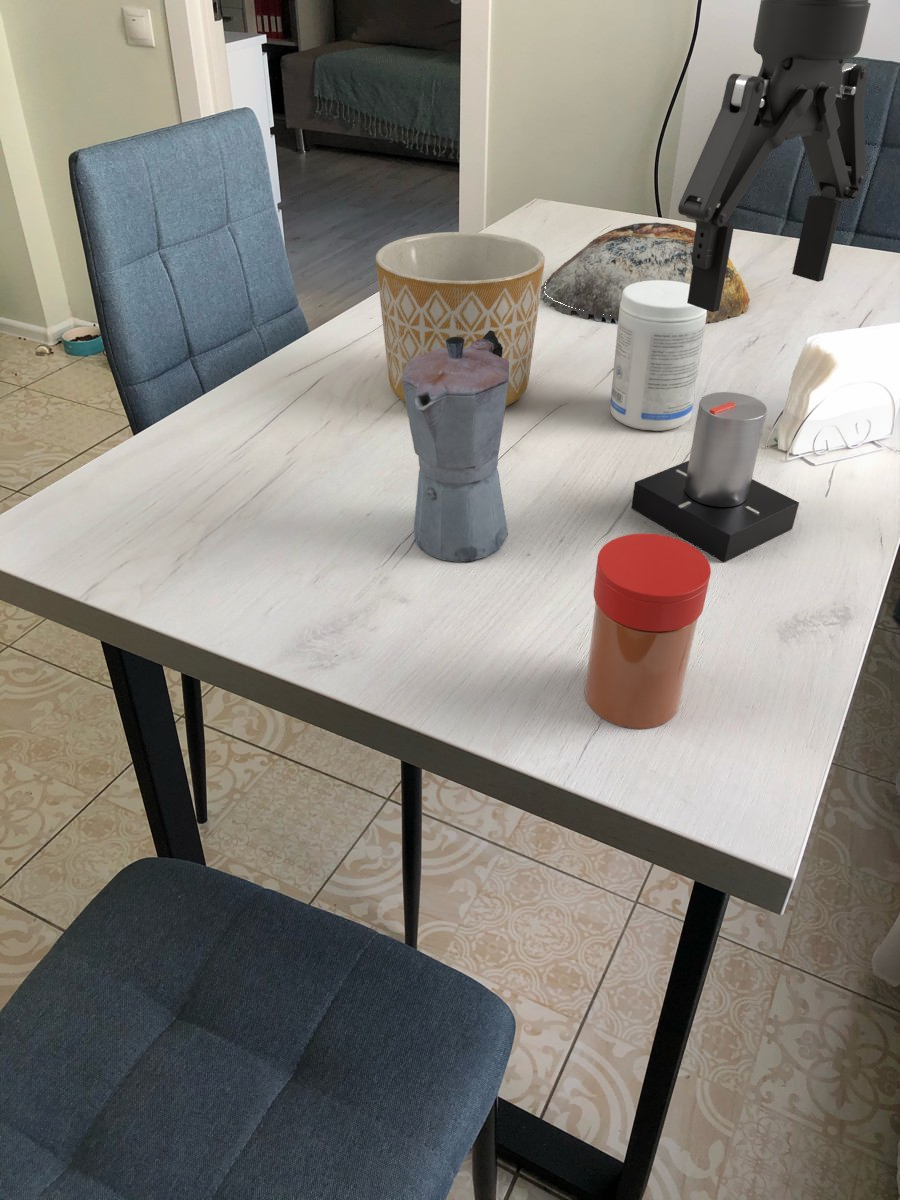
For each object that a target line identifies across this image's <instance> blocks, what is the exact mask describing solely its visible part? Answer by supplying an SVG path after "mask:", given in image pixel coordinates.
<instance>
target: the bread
mask: <svg viewBox="0 0 900 1200" xmlns="http://www.w3.org/2000/svg"><path fill="white" fill-rule="evenodd" d="M695 232H696V230H693V229H691V228H688V227H684V226H681V225H678V224H674V223H673V224H672V223H667V222H666V223H665V222H663V223H662V222H657V221H656V222H639V223H634V224H629V225H625V226H620V227H618V228H617V227H616V228H613V229H612V230H609V231H607V232H605V233H603V234H601V235H599V236H596V237H595V238H594V239H592V241H590V242H589V243H588V244H587V245H586V246H584V247H583V248H581V250H579V251H578V252H576V253H575V255H573V256H572V257H571V258H569V259H568V260H567V261H565V262H564V263H563V264H561V265H560V267H559V268H557V269H556V270H555V271H554V272H552V273H551V275H550V276H549V277H548V278H547V279H546V280H545V281H544V283H543V284H542V285H541V292H540V299H539V300H541V299H543V298H544V299H543V301H542V302H543V303H546V304H547V305H548V306H550V305H552V304H554V305H555V307H554V310H556V312H559V313H561V314H564V315H568V316H571V315H572V311H573V312H575V313H576V314H577V315H578V316H579V318H581V319H586V320H587V319H588V318H589V315H591V316H593V319H594V321H596V322H602V319H603V318H604V319H605V323H608V324H611V323H612V319H613V320H614V322H615V324H616V325H618V319H619V309H620V302H621V300H622V293H623V290H624V288H626V287H627V286H629V285H631V284H633V283H637V282H642V281H651V280H666V281H677V282H682V283H687V284H690V282H691V275H692V269H693V265H692V261H691V257H692V252H693V246H694V245H693V244H694V238H695ZM546 281H547V282H546ZM545 283H546V285H545ZM545 286H546V289H545V288H544V287H545ZM544 291H545V293H546V294H547V295H548V296H549V297H551V298H553V300H555V301H558V302H561V303H563V304H565V305H567V306H565V305H563V304H560V303H558V302H555V301H553V300H552V299H551V298H549V297H547V295H545V293H544ZM546 300H547V301H546ZM749 303H750V297H749V293H748V290H747V289H746V286H745V283H744V281H743V279H742V277H741V276H740V274H739V271H738V270H737V269H736V266H735V265H734V263H733V262H732V261H731V259H730V258H729V257H728V263H727V268H726V274H725V280H724V285H723V291H722V297H721V302H720V308H719V311H715V312H711V311H708V310H707V316H706V323H705V325H706V324H707V323H710V324H712V323H718V322H721V321H725V320H728V318H729V319H732V318H735V317H739V316H741V315H742V314H744V313H747V312H748V309H749V307H750V306H749ZM568 306H570V307H568ZM571 307H573V308H571ZM575 308H576V309H575ZM579 309H580V310H579ZM583 310H584V311H583ZM603 314H604V315H603ZM610 315H611V316H610Z"/></svg>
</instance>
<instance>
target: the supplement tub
mask: <svg viewBox="0 0 900 1200" xmlns="http://www.w3.org/2000/svg"><path fill="white" fill-rule="evenodd" d="M689 288H690V284H687V283H682V282H677V281H666V280H651V281H642V282H637V283H633V284H631V285H629V286H627V287H626V288H624V290H623V293H622V300H621V302H620V309H619V319H618V324H617V328H616V329H617V330H616V341H615V349H614V351H615V352H614V359H613V360H614V362H613V372H612V383H611V394H610V402H609V403H610V405H609V409H610V413H611V415H612V417H613V418H614V419H615V420H616V421H618V422H619V423H621V424H623V425H624V426H627V427H629V428H633V429H636V430H642V431H655V432H660V431H661V432H662V431H670V430H674V429H676V428H677V429H678V428H679V427H682V426H683V425H684V424H686V423H688V421H689V420H690V418H691V416H692V411H693V407H694V401H695V393H696V388H697V380H698V375H699V374H698V373H699V368H700V361H701V355H702V350H703V349H702V347H703V341H704V336H705V328H706V324H707V323H706V316H707V310H705V309H702V308H699V307H697V306H694V305H691V304H688V303H687V301H688V295H689ZM705 323H706V324H705Z"/></svg>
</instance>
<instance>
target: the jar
mask: <svg viewBox="0 0 900 1200" xmlns="http://www.w3.org/2000/svg"><path fill="white" fill-rule="evenodd" d="M594 604H595V605H594V611H593V621H592V628H591V637H590V642H589V643H590V644H589V653H588V662H587V667H586V677H585V685H584V698H585V700H586V702H587V705H588V706H589V708H590V709H591V710H592V711H593V713H595V714H596V715H597V716H599V718H601V719H603V720H604V721H607V722H609V723H611V724H613V725H616V726H619V727H623V728H628V729H635V730H644V729H645V730H646V729H651V728H656V727H659V726H662V725H664V724H666V723H668V722H669V721H671V720H672V719H673V718H674V717H675V716H676V715H677V713H678V712H679V709H680V705H681V701H682V696H683V691H684V686H685V681H686V676H687V671H688V667H689V661H690V657H691V653H692V649H693V648H692V647H693V642H694V638H695V633H696V629H697V624H698V619H697V620H696V621H694V622H693V623H691V624H690V625H688V626H686V627H683V628H680V629H677V630H671V631H658V632H656V631H645V630H639V629H634V628H631V627H628V626H625V625H623V624H620V623H618V622H616V621H614V620H613V619H611V618H609V617H608V616H607V615H606V614H604V613H603V612H602V611H601V610H600V608H599V607H598V606H597V604H596V602H595V603H594Z"/></svg>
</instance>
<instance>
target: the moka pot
mask: <svg viewBox="0 0 900 1200" xmlns="http://www.w3.org/2000/svg"><path fill="white" fill-rule="evenodd" d="M464 341H465V340H464V339H463V338H462V337H450V338H448V339H447V340H446V345H447V348H439V349H435V350H433V351H430V352H428V353H425V354H422V355H420V356H417V357H414V358H411V359H409V360H408V361H407V363H406V366H405V370H404V373H403V376H402V386H403V391H404V396H405V401H406V403H405V406H406V412H407V417H408V422H409V428H410V433H411V438H412V439H411V440H412V445H413V450H414V453H415V454H416V455H417V456H418V457H417V458H418V467H419V470H418V478H417V479H418V480H417V490H416V501H415V511H414V522H413V523H414V524H413V534H414V540H415V542H416V544H417V547H418V548H419V549H420V550H422V551H423V552H424V553H426V555H429V556H431V557H433V558H435V559H438V560H442V561H447V562H457V563H458V562H472V561H473V562H474V561H476V560H480V559H484V558H486V557H489V556H491V555H492V554H495V553H496V552H497V551H499V549H500V548H502V546H503V544H504V543H505V542H506V541H507V537H508V535H509V533H508V523H507V519H506V513H505V506H504V500H503V499H504V498H503V494H502V487H501V481H500V480H501V478H500V473H499V469H498V465H499V453H500V449H501V448H500V447H501V442H502V441H501V440H502V433H503V426H504V419H505V413H506V412H505V411H506V407H505V405H506V398H507V390H508V384H509V361H508V360H506V359H504V358H502V352H503V347H502V345H501V344H500V343H499V342H498V339H497V337H496V336H495V332H494V331H491V330H489V331H488V333H487V334H486V335H485V336H484V337H483V339H482V340H476V341H475V342H474V343H472V344H471V345H470V347H468V348H463V345H464Z"/></svg>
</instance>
